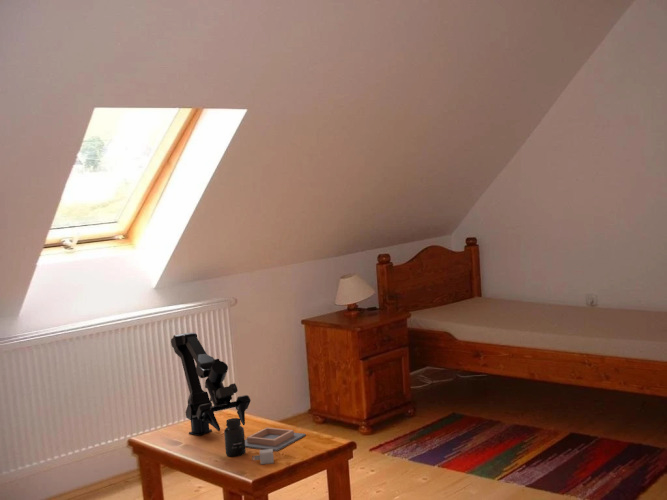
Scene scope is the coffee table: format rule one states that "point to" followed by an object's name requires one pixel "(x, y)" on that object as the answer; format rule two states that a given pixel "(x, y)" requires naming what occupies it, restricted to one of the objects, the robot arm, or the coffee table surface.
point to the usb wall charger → (265, 456)
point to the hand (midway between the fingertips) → (232, 427)
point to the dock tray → (272, 439)
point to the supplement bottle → (234, 438)
